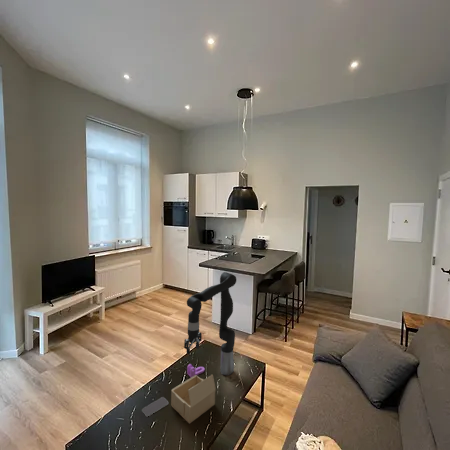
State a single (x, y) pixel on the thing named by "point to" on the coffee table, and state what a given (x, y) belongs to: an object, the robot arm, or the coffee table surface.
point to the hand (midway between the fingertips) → (192, 351)
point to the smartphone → (155, 406)
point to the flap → (201, 390)
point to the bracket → (194, 370)
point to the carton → (182, 400)
